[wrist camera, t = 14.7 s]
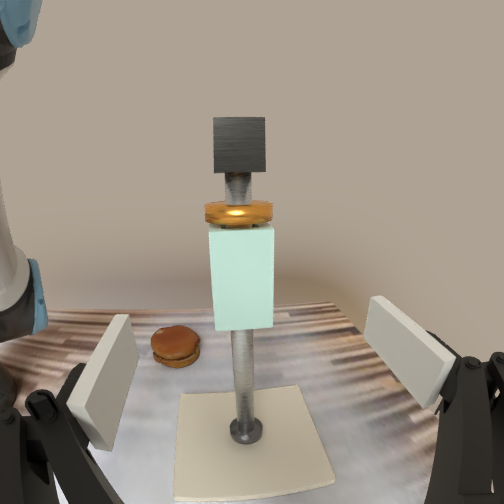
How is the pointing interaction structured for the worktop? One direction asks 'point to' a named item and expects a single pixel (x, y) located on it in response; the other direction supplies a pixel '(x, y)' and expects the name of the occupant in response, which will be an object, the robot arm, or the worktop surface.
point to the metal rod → (240, 216)
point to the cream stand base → (247, 448)
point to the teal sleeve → (242, 276)
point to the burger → (175, 346)
